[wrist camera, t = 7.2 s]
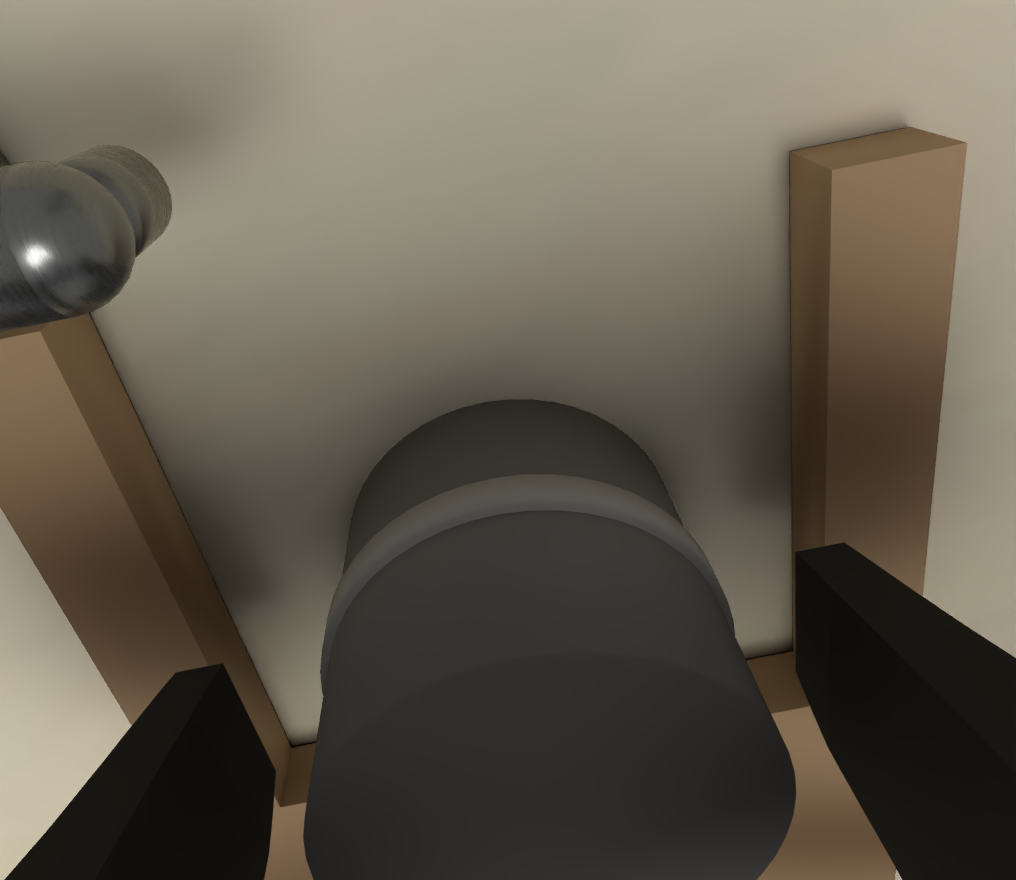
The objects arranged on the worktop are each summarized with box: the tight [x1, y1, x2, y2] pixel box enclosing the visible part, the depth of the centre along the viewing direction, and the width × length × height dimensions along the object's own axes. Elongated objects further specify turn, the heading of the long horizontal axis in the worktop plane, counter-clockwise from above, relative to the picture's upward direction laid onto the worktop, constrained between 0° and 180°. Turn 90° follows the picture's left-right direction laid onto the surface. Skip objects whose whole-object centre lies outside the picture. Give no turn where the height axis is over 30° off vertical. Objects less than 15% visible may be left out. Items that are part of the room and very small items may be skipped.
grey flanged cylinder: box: [303, 400, 796, 880], centre depth 10 cm, size 5×5×5 cm
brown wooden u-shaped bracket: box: [0, 127, 967, 880], centre depth 13 cm, size 14×12×1 cm
